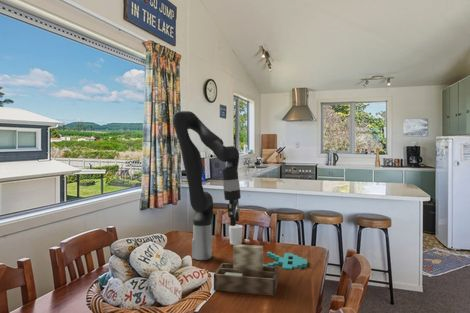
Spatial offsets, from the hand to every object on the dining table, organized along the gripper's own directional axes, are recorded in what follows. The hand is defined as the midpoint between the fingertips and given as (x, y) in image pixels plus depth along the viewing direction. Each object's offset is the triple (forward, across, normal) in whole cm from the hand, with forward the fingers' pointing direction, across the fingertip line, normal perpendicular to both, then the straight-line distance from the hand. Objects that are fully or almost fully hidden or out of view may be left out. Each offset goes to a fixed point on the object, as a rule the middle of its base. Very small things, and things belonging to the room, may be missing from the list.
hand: (235, 223), depth 154 cm
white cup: (+20, -36, -8) cm, 42 cm away
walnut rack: (+22, +21, +7) cm, 31 cm away
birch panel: (+20, +18, +7) cm, 28 cm away
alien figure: (+24, -9, +21) cm, 33 cm away
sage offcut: (+20, +23, +2) cm, 31 cm away
